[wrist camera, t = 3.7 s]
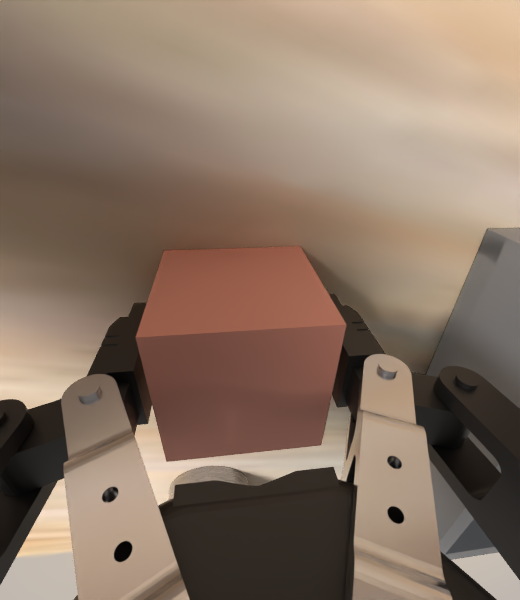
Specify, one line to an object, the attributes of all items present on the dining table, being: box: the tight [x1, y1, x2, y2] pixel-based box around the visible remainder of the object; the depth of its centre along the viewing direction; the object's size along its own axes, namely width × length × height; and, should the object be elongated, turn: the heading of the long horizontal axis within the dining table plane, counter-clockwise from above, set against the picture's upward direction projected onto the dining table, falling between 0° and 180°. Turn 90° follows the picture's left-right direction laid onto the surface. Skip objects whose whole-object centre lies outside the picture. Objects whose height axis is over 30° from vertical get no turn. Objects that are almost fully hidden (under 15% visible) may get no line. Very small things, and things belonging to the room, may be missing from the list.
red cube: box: [136, 246, 346, 462], centre depth 11 cm, size 5×5×5 cm
